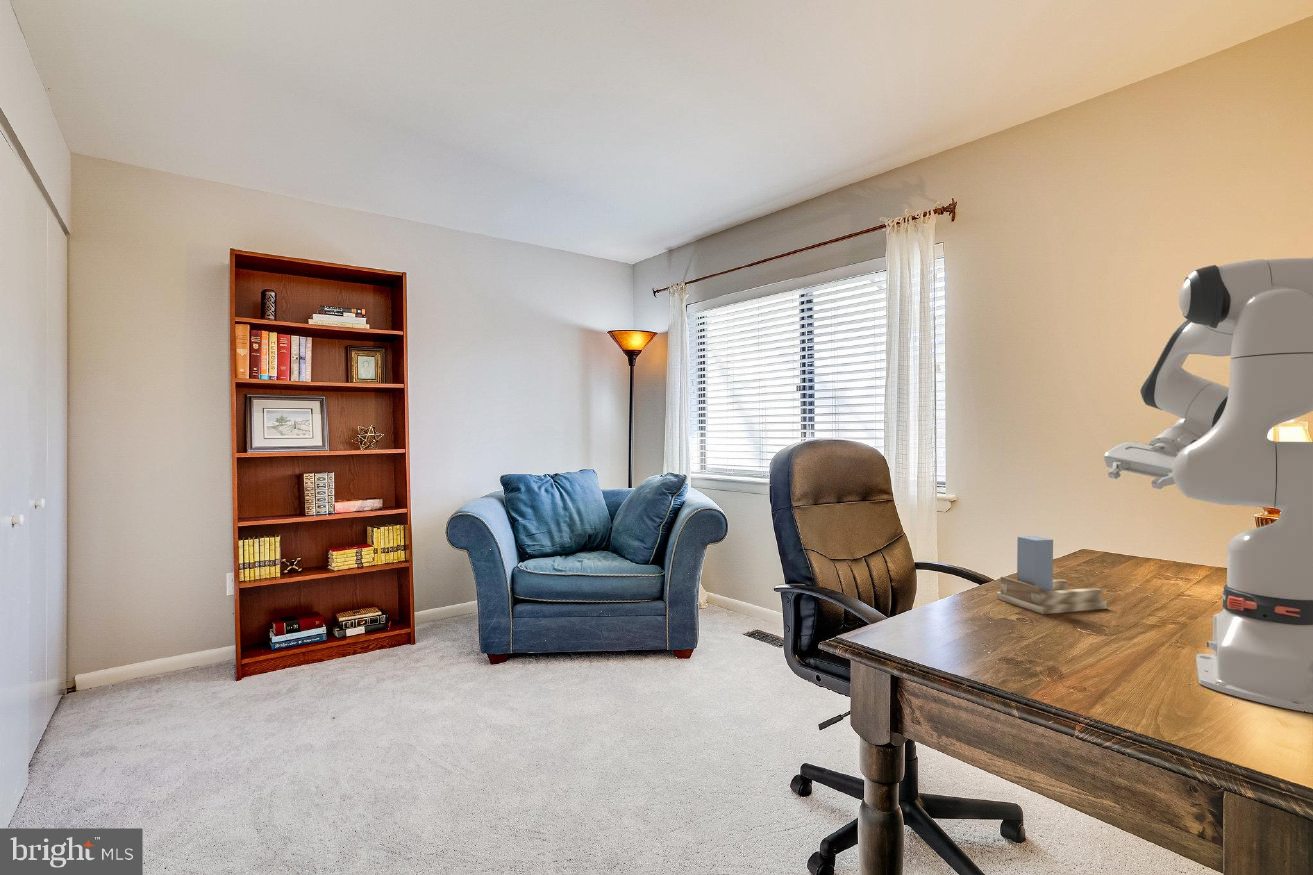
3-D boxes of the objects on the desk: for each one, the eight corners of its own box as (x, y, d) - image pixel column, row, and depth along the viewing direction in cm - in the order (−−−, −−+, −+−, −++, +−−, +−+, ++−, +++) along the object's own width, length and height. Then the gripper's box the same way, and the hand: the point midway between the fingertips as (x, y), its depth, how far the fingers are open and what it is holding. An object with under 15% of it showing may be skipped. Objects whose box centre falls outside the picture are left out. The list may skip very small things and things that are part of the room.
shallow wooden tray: (1042, 614, 137) (1042, 589, 137) (996, 598, 150) (996, 575, 149) (1106, 608, 141) (1106, 584, 141) (1056, 593, 154) (1057, 571, 154)
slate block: (1034, 601, 141) (1035, 540, 141) (1016, 596, 146) (1017, 536, 146) (1052, 600, 143) (1053, 539, 142) (1034, 594, 147) (1034, 535, 147)
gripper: (1124, 431, 152) (1085, 459, 149) (1223, 446, 133) (1180, 479, 130) (1129, 452, 154) (1090, 481, 151) (1227, 471, 135) (1185, 504, 132)
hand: (1132, 480), depth 140 cm, fingers open, 8 cm apart
